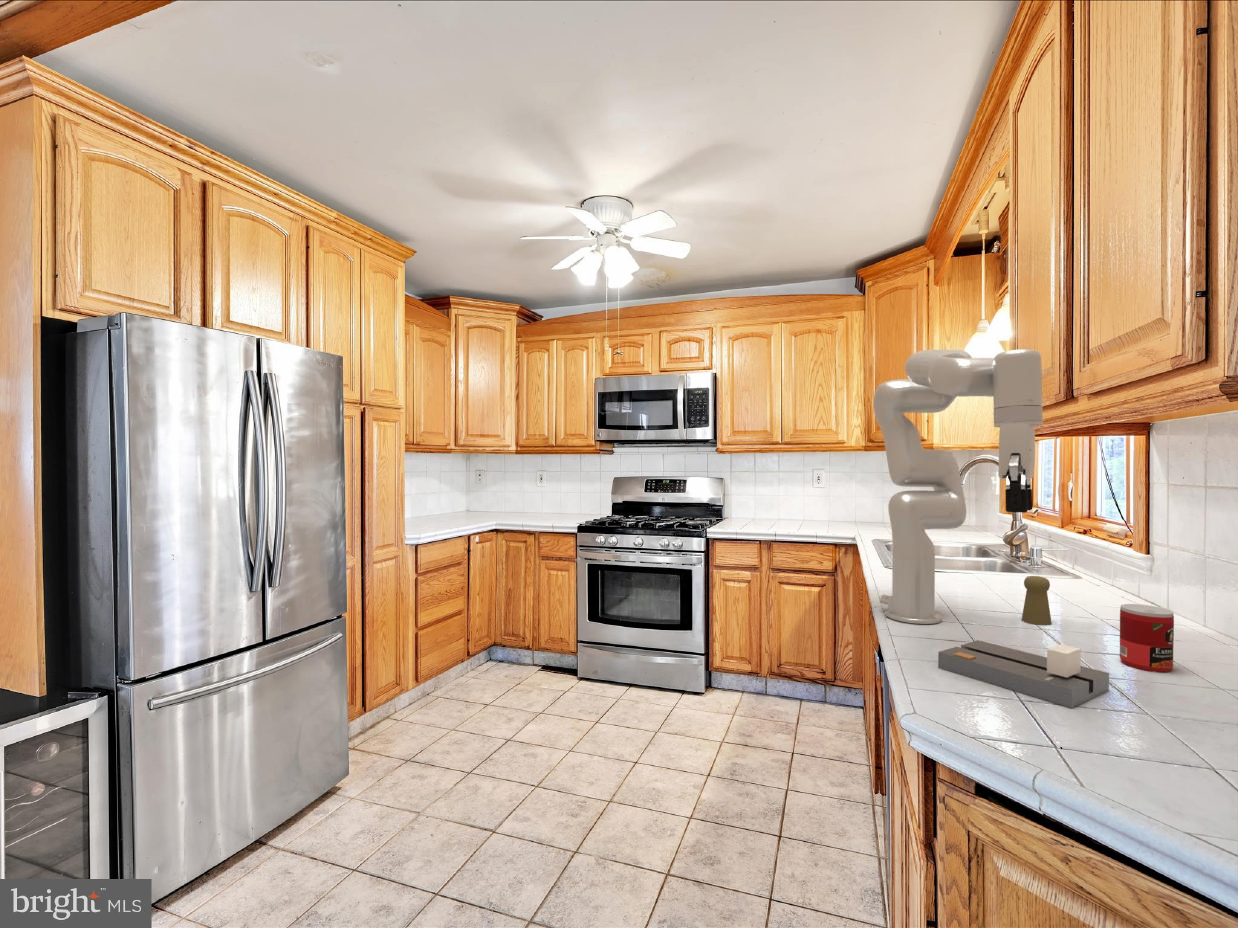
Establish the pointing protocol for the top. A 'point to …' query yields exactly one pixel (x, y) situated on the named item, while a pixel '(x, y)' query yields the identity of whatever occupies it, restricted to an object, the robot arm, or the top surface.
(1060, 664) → the fader knob
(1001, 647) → the fader console
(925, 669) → the top surface
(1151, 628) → the canned food
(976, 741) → the top surface
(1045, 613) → the cork
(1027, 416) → the robot arm
